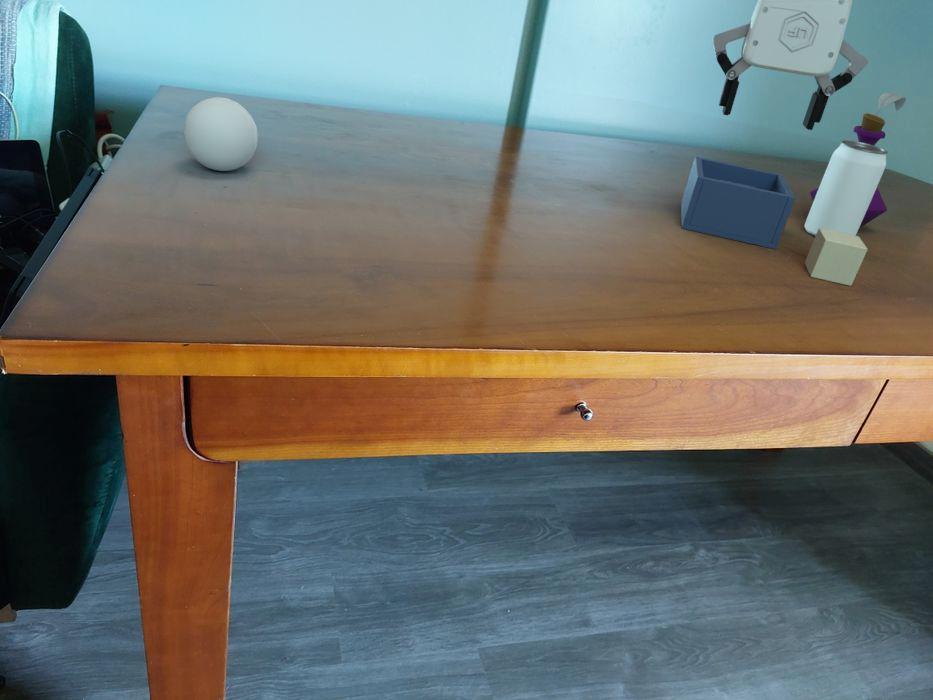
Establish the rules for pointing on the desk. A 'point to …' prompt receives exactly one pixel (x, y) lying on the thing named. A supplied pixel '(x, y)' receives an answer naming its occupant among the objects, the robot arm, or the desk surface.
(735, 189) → the blue bin
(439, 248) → the desk surface
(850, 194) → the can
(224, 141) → the ball
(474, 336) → the desk surface
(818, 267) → the cream block
